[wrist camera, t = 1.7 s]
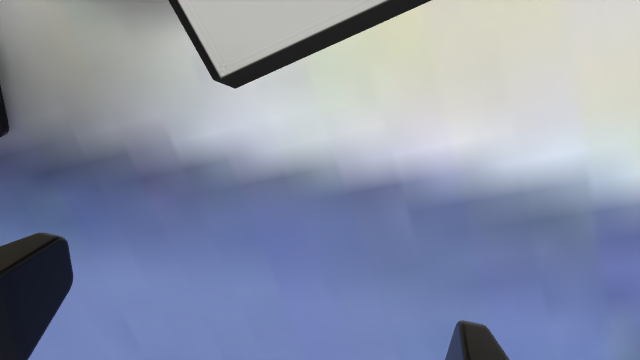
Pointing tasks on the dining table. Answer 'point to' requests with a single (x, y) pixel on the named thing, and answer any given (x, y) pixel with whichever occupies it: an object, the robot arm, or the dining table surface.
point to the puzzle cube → (274, 30)
